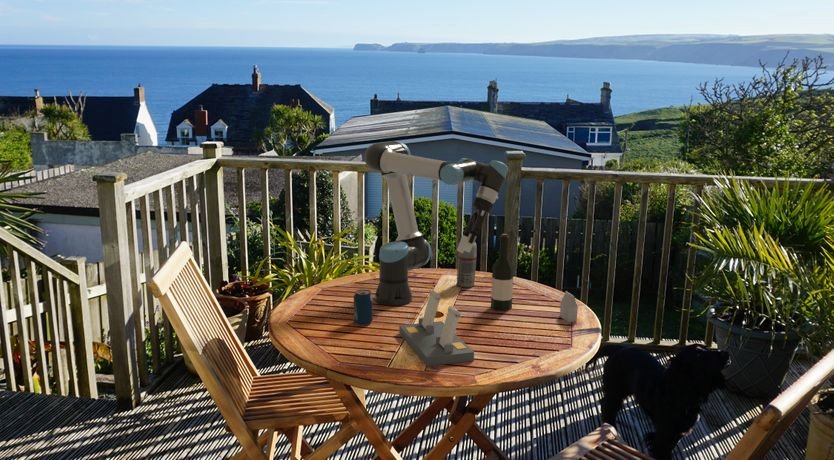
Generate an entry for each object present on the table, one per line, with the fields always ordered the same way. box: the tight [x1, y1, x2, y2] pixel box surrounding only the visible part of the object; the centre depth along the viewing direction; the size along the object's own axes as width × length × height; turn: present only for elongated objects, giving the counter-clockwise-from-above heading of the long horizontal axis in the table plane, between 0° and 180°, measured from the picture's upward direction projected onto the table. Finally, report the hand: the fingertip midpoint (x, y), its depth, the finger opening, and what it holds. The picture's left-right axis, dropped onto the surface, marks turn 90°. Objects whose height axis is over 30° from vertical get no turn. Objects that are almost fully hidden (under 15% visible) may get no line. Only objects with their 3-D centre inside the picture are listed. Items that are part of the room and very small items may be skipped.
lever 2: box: [439, 305, 461, 348], centre depth 221 cm, size 2×6×13 cm, turn 19°
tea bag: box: [559, 290, 578, 323], centre depth 259 cm, size 4×7×10 cm, turn 14°
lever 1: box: [422, 289, 442, 329], centre depth 237 cm, size 2×6×13 cm, turn 19°
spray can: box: [456, 241, 478, 288], centre depth 299 cm, size 8×8×20 cm
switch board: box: [398, 317, 475, 367], centre depth 230 cm, size 16×30×6 cm, turn 18°
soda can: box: [353, 289, 374, 326], centre depth 251 cm, size 7×7×12 cm
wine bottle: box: [490, 233, 515, 312], centre depth 269 cm, size 8×8×30 cm
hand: (462, 251), depth 255 cm, fingers open, 13 cm apart
